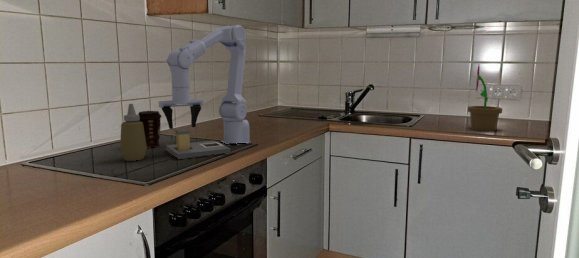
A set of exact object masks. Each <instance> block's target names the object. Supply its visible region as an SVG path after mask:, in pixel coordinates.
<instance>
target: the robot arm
mask: <svg viewBox="0 0 579 258" xmlns="http://www.w3.org/2000/svg"><path fill="white" fill-rule="evenodd" d="M246 42H247V32H246V30H245V28H244V27H243V25H241V24H236V25H225V26H224V25H220V26H219V27H217V28H214V30H213V31H211V32H210V33H209V34H208V35H205V37H204V36H203V38H201V40H199V39H190V40H189V42H188V43H187V44H185V45H184V46H180V47H179V49H178V50H173V51H171V52H170V53H169V54H168V56H167V59H166V63H167V65H168V67H169V71H170V73H171V75H170V77H171V92H172V93H171V96H172V97H171V100H159V101H158V108H161V110H162V113H164V116H165V119H166V121H167V124H168V129H169V130H174V124H173V112H174V111H173V109H172V108H176V107H189V108H190V116H191V117H190V118H191V121H190V123H191V124H190V125H191V128H196V125H197V120H198V117H199V115H200V112H201V110H202V106H204V99H191V92H190V91H191V87H190V68H191V67H192V66H193V62H195V61H196V60H198V59H199V58H201V57H202V56H204V55H205V54H206V50H207V49H209V48H210V47H212V46H214V45H215V44H217V43H219V44H221V45H222V46H223V47H225V48H226V49H228V50H229V52H230V60H229V62H230V63H229V69H228V79H227V90H226V94H225V95H223V97H222V98H221V102H220V105H219V107H218V113H219V116H220V117H221V120H222V121H223V140H220V141H221V142H223V143H222V144H224V143H225V144H224V145H226V144H229V143H236V144H237V143H246V144H250V143H251V141H250V138H251V137H250V123H249V120H247V119H245V118H246V117H247V113H248V109H247V100H246V99H245V98H244V96H243V95H242V92H243V83H244V82H243V81H244V76H245V75H244V72H245V66H246V54H247V46H246V45H247V44H246ZM221 142H220V143H221ZM249 142H250V143H249ZM237 145H238V144H237Z"/></svg>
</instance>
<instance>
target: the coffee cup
mask: <svg viewBox="0 0 579 258" xmlns="http://www.w3.org/2000/svg"><path fill="white" fill-rule="evenodd" d="M137 115H139V116H140V120H138V121H141V122H142V123H143V126H144V133H145V139H146V145H147V149H152V148H151V147H155V148H158V146H159V147H160V139H161V125H162V124H161V118H162V117H163V115H161V113H160V112H159V110H143V111H139V112H138V114H137Z"/></svg>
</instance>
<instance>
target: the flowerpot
mask: <svg viewBox="0 0 579 258" xmlns="http://www.w3.org/2000/svg"><path fill="white" fill-rule="evenodd" d="M480 69H481V68H480V64H478V66H477V70H476V71H477V73H476V75H477V76H476V87H475V88H476V89H475V90H476V92H478V89H479V82H480V81H481V84H482V86H483V90H481V92H480V93H479V95H480V96H481V97H483V98H484V103H483V105H470V106H469V105H468V106H467V112H469V113H470V114H469V116H470V129H471V130H472V131H476V130H477V131H476V132H495V131H496V129H497V124H498V122H499V121H498V120H499V117H500V114H502V113H503V108H502V107H499V106H490V105H489V106H488V105H487V103H488V100H489V99H488V93H487V85H486V83H485V80H484V78H482V76H481V75H480Z"/></svg>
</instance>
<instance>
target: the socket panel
mask: <svg viewBox="0 0 579 258" xmlns="http://www.w3.org/2000/svg"><path fill="white" fill-rule="evenodd" d="M166 150H167V151H168V152H169V153H171V154H172V155H174V156H175V157H177V158H178V159H180V158H187V157H193V156H203V155H211V154H221V153H227V152H231V153H232V148H231V147H229V146H228V145H226V144H224V143H221V142H220V141H217V140H215V139H214V140H205V141H197V142H190V149H188V150H179V151H177V145H176V143H175V144H165V151H166ZM167 151H166V152H167ZM168 152H167V153H168ZM169 153H168V154H169ZM171 154H170V155H171ZM172 155H171V156H172ZM175 157H174V158H175Z"/></svg>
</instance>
